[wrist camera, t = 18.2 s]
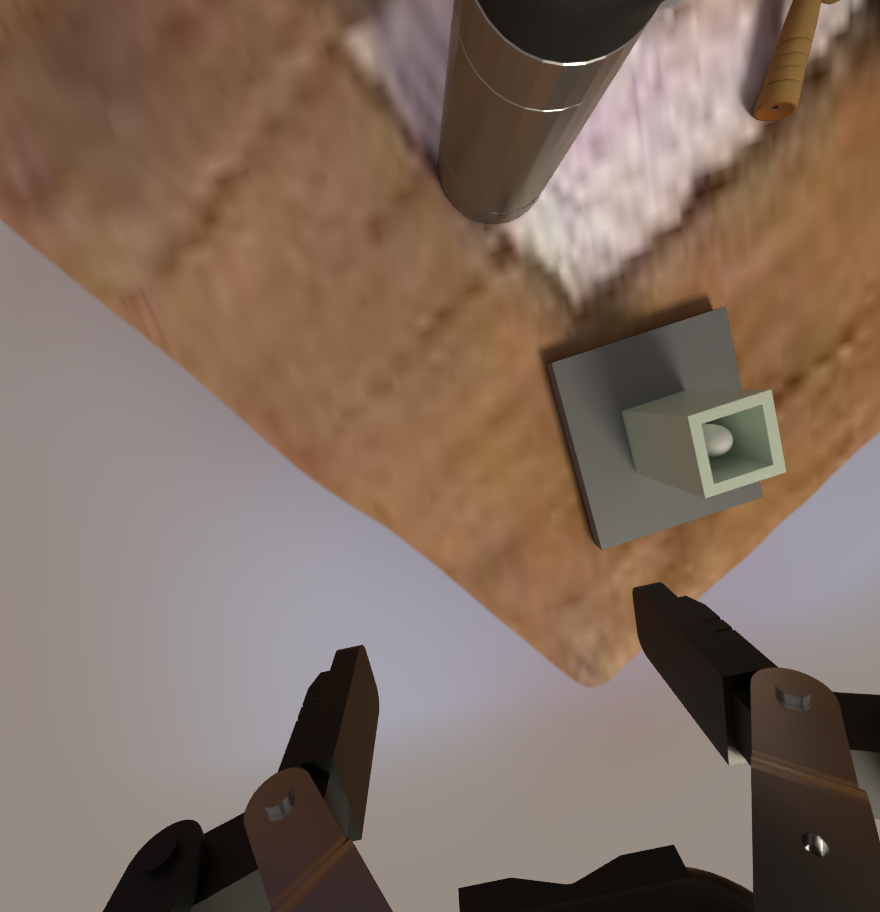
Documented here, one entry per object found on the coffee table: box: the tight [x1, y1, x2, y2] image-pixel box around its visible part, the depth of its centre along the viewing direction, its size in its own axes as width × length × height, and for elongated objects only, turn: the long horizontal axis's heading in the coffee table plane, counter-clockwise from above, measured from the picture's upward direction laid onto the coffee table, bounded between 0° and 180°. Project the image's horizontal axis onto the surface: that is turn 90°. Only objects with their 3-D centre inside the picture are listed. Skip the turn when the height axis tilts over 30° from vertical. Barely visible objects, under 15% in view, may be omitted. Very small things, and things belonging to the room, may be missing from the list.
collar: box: [622, 389, 786, 498], centre depth 33 cm, size 6×6×9 cm
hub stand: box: [546, 306, 763, 550], centre depth 34 cm, size 18×16×9 cm
